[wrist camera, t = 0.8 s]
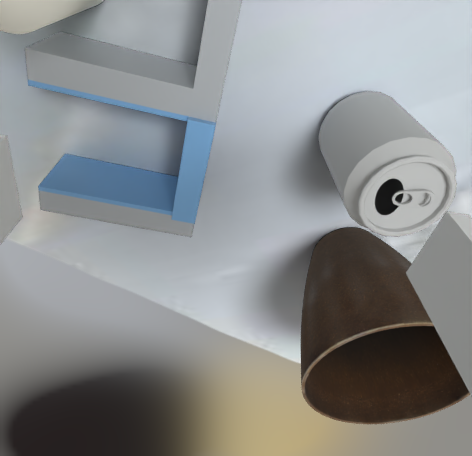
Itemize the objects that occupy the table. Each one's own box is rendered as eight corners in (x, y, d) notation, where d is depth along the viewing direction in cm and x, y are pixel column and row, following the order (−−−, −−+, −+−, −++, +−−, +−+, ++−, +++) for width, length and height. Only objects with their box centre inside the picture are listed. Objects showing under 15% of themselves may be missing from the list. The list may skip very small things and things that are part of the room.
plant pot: (436, 205, 39) (536, 332, 26) (384, 300, 47) (439, 429, 35) (297, 190, 37) (330, 315, 25) (270, 291, 46) (284, 420, 34)
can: (319, 91, 31) (357, 153, 22) (408, 84, 31) (486, 144, 21) (314, 169, 36) (344, 249, 26) (392, 163, 36) (450, 242, 26)
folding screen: (51, -169, 22) (-7, -206, 17) (259, -101, 24) (267, -115, 19) (66, 175, 36) (37, 213, 31) (196, 201, 38) (190, 241, 33)
